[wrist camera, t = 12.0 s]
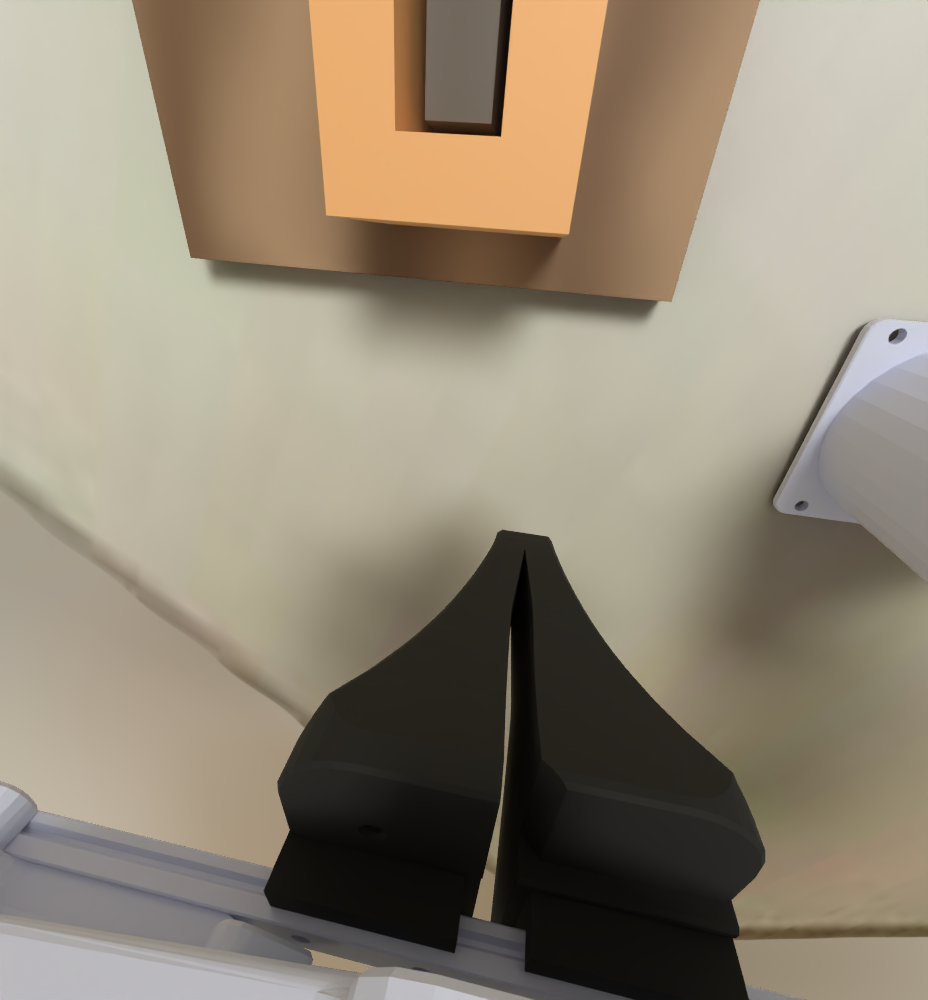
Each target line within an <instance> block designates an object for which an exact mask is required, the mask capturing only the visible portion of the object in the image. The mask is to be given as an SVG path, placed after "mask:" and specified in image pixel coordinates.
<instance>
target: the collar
mask: <svg viewBox="0 0 928 1000" xmlns="http://www.w3.org/2000/svg"><path fill="white" fill-rule="evenodd" d="M607 3H608V0H513V8H512V19H511V30H510V42H509V53H508V64H507V76H506V87H505V98H504V110H503V121H502V132H501V137H497V136H479V135H461V134H443V133H437V132H436V131H435V130H434V129H433V128H432V127H431V126H430V125H429V124H428V123H427V122H426V121H425V84H426V23H427V0H309V10H310V22H311V34H312V47H313V59H314V71H315V83H316V96H317V108H318V120H319V132H320V145H321V157H322V169H323V181H324V194H325V206H326V215H327V216H334V217H342V218H349V219H356V220H363V221H370V222H377V223H385V224H394V225H407V226H420V227H432V228H445V229H458V230H470V231H483V232H496V233H508V234H521V235H534V236H546V237H559V238H562V237H564V236H566V235H568V234H569V230H570V224H571V219H572V213H573V207H574V201H575V195H576V189H577V183H578V177H579V171H580V165H581V159H582V153H583V147H584V141H585V135H586V129H587V123H588V117H589V111H590V105H591V99H592V93H593V87H594V81H595V75H596V69H597V63H598V57H599V51H600V45H601V39H602V33H603V27H604V21H605V15H606V9H607Z"/></svg>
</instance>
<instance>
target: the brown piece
mask: <svg viewBox="0 0 928 1000" xmlns="http://www.w3.org/2000/svg"><path fill="white" fill-rule="evenodd" d="M759 1H760V0H608V3H607V9H606V15H605V21H604V27H603V33H602V39H601V45H600V51H599V57H598V63H597V69H596V75H595V81H594V87H593V93H592V99H591V105H590V111H589V117H588V123H587V129H586V135H585V141H584V147H583V153H582V159H581V165H580V171H579V177H578V183H577V189H576V195H575V201H574V207H573V213H572V219H571V224H570V230H569V234H568V235H566V236H564V237H562V238H559V237H546V236H534V235H521V234H508V233H496V232H483V231H470V230H458V229H445V228H432V227H420V226H407V225H394V224H385V223H377V222H370V221H363V220H356V219H349V218H342V217H334V216H327V215H326V206H325V194H324V181H323V169H322V157H321V145H320V132H319V120H318V108H317V96H316V83H315V71H314V59H313V47H312V34H311V22H310V10H309V0H132V2H133V6H134V11H135V15H136V20H137V24H138V28H139V33H140V37H141V42H142V46H143V50H144V55H145V59H146V63H147V68H148V72H149V77H150V81H151V85H152V90H153V94H154V98H155V103H156V107H157V112H158V116H159V120H160V125H161V129H162V133H163V138H164V142H165V147H166V151H167V155H168V160H169V164H170V169H171V173H172V177H173V182H174V186H175V190H176V195H177V199H178V204H179V208H180V212H181V217H182V221H183V225H184V230H185V234H186V239H187V243H188V247H189V252H190V256H191V258H199V259H210V260H221V261H232V262H243V263H254V264H265V265H276V266H287V267H297V268H308V269H319V270H330V271H341V272H352V273H363V274H374V275H385V276H395V277H406V278H417V279H428V280H439V281H450V282H461V283H472V284H483V285H493V286H504V287H515V288H526V289H537V290H548V291H559V292H570V293H581V294H591V295H602V296H613V297H624V298H635V299H646V300H657V301H668V302H671V301H672V298H673V295H674V291H675V288H676V284H677V281H678V278H679V274H680V271H681V267H682V264H683V260H684V257H685V254H686V250H687V247H688V243H689V240H690V237H691V233H692V230H693V226H694V223H695V220H696V216H697V213H698V209H699V206H700V202H701V199H702V196H703V192H704V189H705V185H706V182H707V179H708V175H709V172H710V168H711V165H712V162H713V158H714V155H715V151H716V148H717V145H718V141H719V138H720V134H721V131H722V127H723V124H724V121H725V117H726V114H727V110H728V107H729V104H730V100H731V97H732V93H733V90H734V87H735V83H736V80H737V76H738V73H739V69H740V66H741V63H742V59H743V56H744V52H745V49H746V46H747V42H748V39H749V35H750V32H751V29H752V25H753V22H754V18H755V15H756V12H757V8H758V5H759ZM512 8H513V0H427V23H426V84H425V121H426V122H427V123H428V124H429V125H430V126H431V127H432V128H433V129H434V130H435V131H436V132H437V133H443V134H461V135H479V136H497V137H501V132H502V121H503V110H504V98H505V87H506V76H507V64H508V53H509V42H510V30H511V19H512Z"/></svg>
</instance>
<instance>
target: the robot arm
mask: <svg viewBox="0 0 928 1000" xmlns="http://www.w3.org/2000/svg"><path fill="white" fill-rule="evenodd" d="M896 329H899V334H898V336H897V337H896V338H895V339H894V340H892V341H890V342H889V341H888V338H889V335H890V334H891V333H892V332H893V331H895V330H896ZM800 501H804V502H803V503H802V504H801V505H799V506H795V505H796V504H797V503H798V502H800ZM773 506H774V507H775V508H776V509H777V510H778V511H779V512H781V513H785V514H792V515H799V516H806V517H814V518H821V519H828V520H836V521H843V522H850V523H857V524H861V525H862V526H863V527H864V528H866V529H867V530H868V531H869V532H870V533H871V534H872V535H873V536H875V537H876V538H877V539H878V540H879V541H880V542H881V543H883V544H884V545H885V546H886V547H887V548H888V549H889V550H890V551H892V552H893V553H894V554H895V555H896V556H897V557H898V558H900V559H901V560H902V561H903V562H904V563H905V564H906V565H907V566H909V567H910V568H911V569H912V570H913V571H914V572H915V573H916V574H918V575H919V576H920V577H921V578H922V579H923V580H924V581H926V582H927V583H928V322H920V321H909V320H898V319H887V318H880V319H875V320H873V321H871V322H869V323H868V324H867V325H865V326H864V328H863V329H862V330H861V332H860V334H859V335H858V337H857V339H856V341H855V343H854V345H853V347H852V349H851V351H850V353H849V355H848V357H847V359H846V360H845V362H844V364H843V366H842V368H841V370H840V372H839V374H838V376H837V378H836V380H835V382H834V384H833V385H832V387H831V389H830V391H829V393H828V395H827V397H826V399H825V401H824V403H823V405H822V407H821V409H820V410H819V412H818V414H817V416H816V418H815V420H814V422H813V424H812V426H811V428H810V430H809V432H808V434H807V435H806V437H805V439H804V441H803V443H802V445H801V447H800V449H799V451H798V453H797V455H796V457H795V458H794V460H793V462H792V464H791V466H790V468H789V470H788V472H787V474H786V476H785V478H784V480H783V482H782V483H781V485H780V487H779V489H778V491H777V493H776V495H775V497H774V499H773ZM510 628H511V720H510V732H509V743H508V754H507V765H506V775H505V786H504V796H503V806H502V816H501V827H500V837H499V847H498V857H497V866H496V876H495V885H494V895H493V905H492V914H491V922H489V921H485V920H481V919H477V918H473V917H472V916H473V912H474V907H475V903H476V899H477V894H478V889H479V885H480V881H481V878H483V874H484V869H485V865H486V861H487V857H488V852H489V848H490V844H491V839H492V835H493V831H494V826H495V822H496V818H497V813H498V809H499V805H500V798H501V788H502V776H503V763H504V736H505V709H506V687H507V668H508V651H509V636H510ZM278 793H279V796H280V800H281V803H282V806H283V809H284V813H285V816H286V819H287V822H288V825H289V829H290V831H289V833H288V836H287V838H286V841H285V843H284V845H283V847H282V849H281V852H280V854H279V856H278V859H277V861H276V863H275V865H274V868H270V867H266V866H262V865H258V864H254V863H250V862H246V861H242V860H238V859H234V858H229V857H226V856H222V855H217V854H213V853H209V852H205V851H201V850H197V849H193V848H189V847H185V846H181V845H177V844H172V843H169V842H165V841H161V840H157V839H153V838H148V837H144V836H140V835H136V834H132V833H128V832H124V831H120V830H116V829H112V828H108V827H104V826H100V825H96V824H92V823H87V822H84V821H80V820H75V819H71V818H67V817H63V816H59V815H55V814H51V813H47V812H43V811H38V810H37V805H36V804H35V802H34V801H33V800H32V799H31V798H30V797H29V796H28V795H27V794H26V793H25V792H23V791H22V790H21V789H19V788H17V787H15V786H13V785H10V784H7V783H4V782H1V781H0V1000H805V999H801V998H797V997H793V996H789V995H785V994H781V993H777V992H773V991H769V990H765V989H761V988H757V987H752V986H748V985H745V983H744V979H743V975H742V971H741V968H740V964H739V960H738V956H737V953H736V949H735V945H734V942H733V938H737V937H738V936H739V925H738V922H737V918H736V915H735V911H734V908H733V904H732V901H731V900H732V899H733V898H734V897H735V896H736V895H737V894H738V893H739V892H740V891H741V890H743V889H744V888H745V887H746V886H747V885H748V884H749V883H750V882H751V881H752V880H753V879H754V878H755V877H756V876H757V874H758V873H759V871H760V870H761V868H762V866H763V865H764V863H765V849H764V846H763V843H762V841H761V838H760V835H759V832H758V830H757V827H756V824H755V821H754V819H753V816H752V814H751V811H750V809H749V807H748V804H747V802H746V800H745V798H744V796H743V794H742V792H741V790H740V788H739V786H738V784H737V781H736V779H735V777H734V774H733V773H732V772H731V771H730V770H729V769H728V768H727V767H726V766H724V765H723V764H722V763H721V762H720V761H719V760H718V759H716V758H715V757H714V756H713V755H712V754H711V753H710V752H709V751H707V750H706V749H705V748H704V747H703V746H702V745H701V744H700V743H698V742H697V741H696V740H695V739H694V738H693V737H692V736H690V735H689V734H688V733H687V732H686V731H685V730H684V729H683V728H682V727H681V726H680V725H679V724H678V723H677V722H676V721H675V720H674V719H673V718H672V717H671V716H670V715H669V714H668V713H667V712H666V711H665V710H664V709H663V708H662V707H660V706H659V705H658V704H657V703H656V701H655V700H654V699H653V698H652V697H651V696H650V695H649V694H648V693H647V692H646V690H645V689H644V688H643V687H642V686H641V685H640V684H639V683H638V682H637V680H636V679H635V678H634V677H633V676H632V675H631V674H630V673H629V671H628V670H627V669H626V668H625V667H624V665H623V664H622V663H621V662H620V660H619V659H618V658H617V657H616V655H615V654H614V653H613V651H612V650H611V649H610V647H609V646H608V645H607V643H606V642H605V641H604V639H603V638H602V636H601V635H600V634H599V632H598V631H597V629H596V628H595V626H594V625H593V623H592V622H591V620H590V618H589V617H588V615H587V613H586V612H585V610H584V609H583V607H582V605H581V603H580V602H579V600H578V598H577V596H576V595H575V593H574V591H573V589H572V587H571V585H570V583H569V581H568V579H567V577H566V575H565V573H564V571H563V569H562V567H561V565H560V562H559V560H558V558H557V555H556V553H555V550H554V547H553V544H552V541H551V540H550V538H549V537H546V536H540V535H533V534H526V533H520V532H513V531H507V530H501V531H500V532H498V533H497V536H496V539H495V541H494V543H493V545H492V547H491V549H490V551H489V552H488V554H487V556H486V557H485V559H484V560H483V562H482V563H481V565H480V566H479V568H478V569H477V570H476V572H475V573H474V575H473V576H472V577H471V579H470V580H469V581H468V582H467V583H466V585H465V586H464V587H463V588H462V590H461V591H460V592H459V593H458V594H457V596H456V597H455V598H454V599H453V600H452V601H451V602H450V603H449V604H448V605H447V606H446V608H445V609H444V610H443V611H442V612H441V613H440V614H439V615H437V616H436V617H435V618H434V619H433V620H432V621H431V622H430V623H429V624H428V625H427V626H426V627H424V628H423V629H422V630H421V631H420V632H419V633H418V634H417V635H415V636H414V637H413V638H412V639H410V640H409V641H408V642H407V643H405V644H404V645H403V646H401V647H400V648H399V649H397V650H396V651H395V652H393V653H392V654H390V655H389V656H388V657H386V658H385V659H384V660H382V661H381V662H379V663H378V664H377V665H375V666H374V667H372V668H371V669H369V670H368V671H366V672H364V673H363V674H361V675H359V676H358V677H356V678H354V679H353V680H351V681H350V682H348V683H346V684H345V685H343V686H341V687H340V688H338V689H336V690H335V691H333V692H331V693H330V694H329V695H328V696H327V697H326V698H325V700H324V701H323V702H322V704H321V705H320V707H319V708H318V709H317V711H316V712H315V714H314V715H313V717H312V718H311V720H310V721H309V723H308V724H307V726H306V727H305V729H304V730H303V732H302V734H301V735H300V737H299V739H298V741H297V743H296V745H295V747H294V749H293V751H292V753H291V755H290V757H289V759H288V761H287V763H286V765H285V767H284V769H283V771H282V773H281V775H280V777H279V780H278ZM302 947H303V948H302ZM304 948H307V949H310V950H314V951H318V952H322V953H326V954H329V955H333V956H337V957H341V958H344V959H348V960H352V961H356V962H360V963H363V964H367V965H371V966H375V967H376V968H369V969H368V970H366V971H365V972H364V973H357V972H351V971H345V970H338V969H333V968H327V967H320V966H314V965H311V964H312V961H313V958H312V955H311V952H310V951H309V950H306V949H304Z"/></svg>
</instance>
